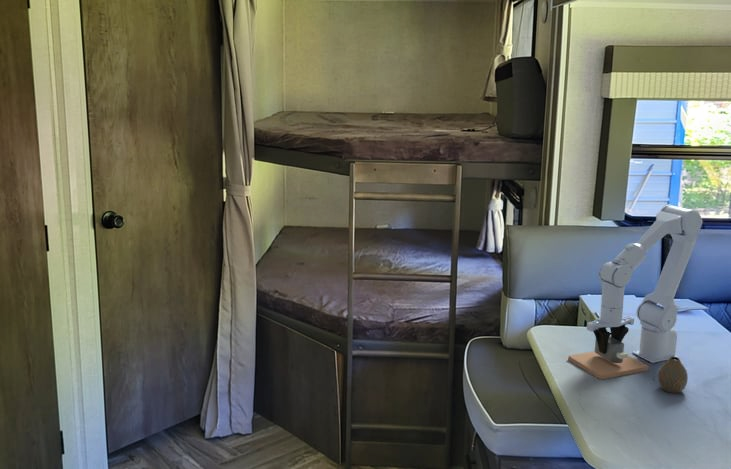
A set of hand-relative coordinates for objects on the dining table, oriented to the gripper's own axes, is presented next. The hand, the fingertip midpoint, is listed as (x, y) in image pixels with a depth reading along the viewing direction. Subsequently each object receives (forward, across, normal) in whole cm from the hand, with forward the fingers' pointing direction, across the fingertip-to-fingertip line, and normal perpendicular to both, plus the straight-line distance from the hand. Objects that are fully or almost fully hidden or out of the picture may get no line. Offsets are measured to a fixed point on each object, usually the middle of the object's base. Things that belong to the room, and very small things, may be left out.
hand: (608, 351), depth 184 cm
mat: (+4, 0, 0) cm, 4 cm away
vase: (+4, -5, +18) cm, 20 cm away
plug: (+2, 0, 0) cm, 2 cm away
